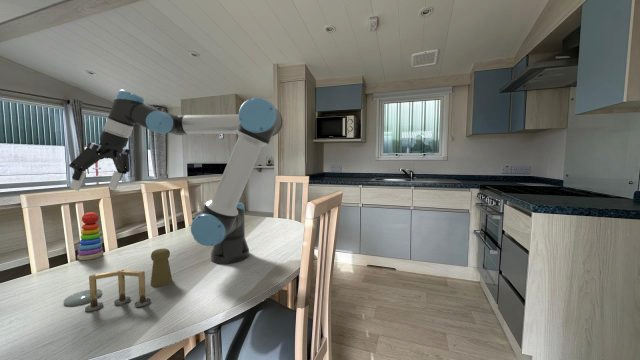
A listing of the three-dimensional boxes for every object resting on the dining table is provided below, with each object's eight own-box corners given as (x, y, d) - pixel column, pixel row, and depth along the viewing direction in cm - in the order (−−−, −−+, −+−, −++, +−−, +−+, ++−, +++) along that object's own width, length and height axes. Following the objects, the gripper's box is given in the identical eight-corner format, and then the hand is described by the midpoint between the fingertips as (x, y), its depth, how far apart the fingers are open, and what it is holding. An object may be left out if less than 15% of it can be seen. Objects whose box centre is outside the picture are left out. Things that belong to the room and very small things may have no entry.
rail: (152, 292, 74) (151, 263, 74) (150, 305, 68) (148, 273, 67) (87, 306, 67) (85, 274, 66) (78, 322, 60) (75, 286, 60)
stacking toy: (87, 261, 97) (85, 214, 96) (72, 259, 99) (69, 213, 97) (108, 254, 105) (106, 211, 104) (93, 253, 106) (91, 210, 105)
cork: (176, 280, 82) (175, 248, 81) (158, 288, 77) (156, 254, 76) (164, 276, 85) (163, 245, 84) (146, 284, 79) (144, 251, 79)
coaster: (104, 288, 76) (104, 286, 76) (98, 300, 70) (98, 298, 70) (69, 295, 72) (69, 293, 72) (58, 309, 66) (58, 307, 66)
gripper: (136, 136, 100) (116, 183, 101) (69, 121, 75) (44, 184, 76) (152, 143, 100) (132, 191, 100) (90, 130, 75) (65, 194, 75)
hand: (94, 188), depth 88 cm, fingers open, 13 cm apart
